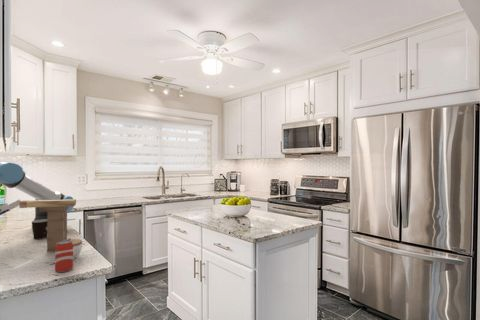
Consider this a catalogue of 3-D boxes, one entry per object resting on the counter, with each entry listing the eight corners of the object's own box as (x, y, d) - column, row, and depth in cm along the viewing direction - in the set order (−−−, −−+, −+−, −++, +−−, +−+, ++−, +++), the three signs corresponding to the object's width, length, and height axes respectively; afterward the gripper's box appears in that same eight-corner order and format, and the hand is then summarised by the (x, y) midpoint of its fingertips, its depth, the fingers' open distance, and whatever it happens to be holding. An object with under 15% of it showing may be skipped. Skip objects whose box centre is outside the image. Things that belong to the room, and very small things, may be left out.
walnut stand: (44, 247, 149) (45, 205, 149) (68, 246, 152) (68, 204, 152) (38, 253, 140) (38, 207, 140) (63, 251, 144) (64, 207, 144)
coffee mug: (39, 240, 163) (40, 222, 163) (27, 239, 165) (27, 222, 165) (56, 234, 174) (56, 218, 174) (45, 234, 176) (45, 218, 176)
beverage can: (69, 266, 123) (69, 239, 123) (74, 270, 119) (75, 241, 119) (53, 270, 119) (53, 241, 119) (58, 274, 114) (58, 244, 114)
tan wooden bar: (22, 206, 144) (23, 200, 144) (76, 204, 151) (76, 199, 151) (19, 207, 140) (19, 201, 140) (74, 206, 147) (74, 200, 147)
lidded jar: (82, 259, 131) (82, 239, 131) (54, 263, 126) (54, 242, 126) (81, 253, 141) (82, 234, 141) (56, 256, 135) (56, 237, 135)
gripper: (-12, 227, 148) (29, 205, 153) (-44, 240, 124) (7, 214, 129) (-21, 215, 147) (21, 194, 152) (-55, 226, 123) (-3, 200, 128)
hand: (14, 203), depth 141 cm, fingers open, 13 cm apart
